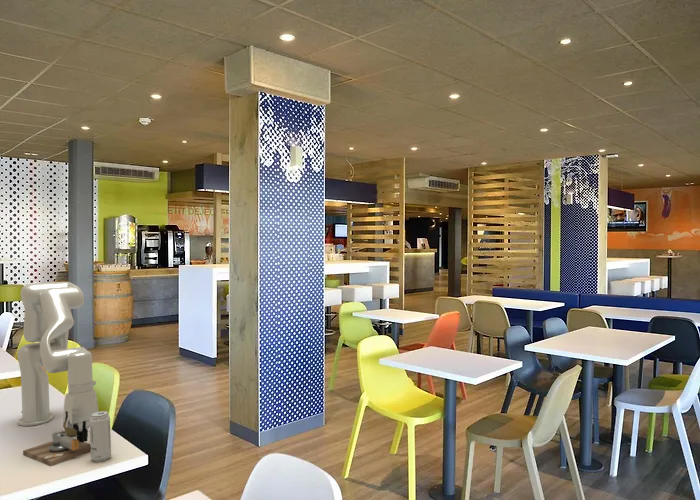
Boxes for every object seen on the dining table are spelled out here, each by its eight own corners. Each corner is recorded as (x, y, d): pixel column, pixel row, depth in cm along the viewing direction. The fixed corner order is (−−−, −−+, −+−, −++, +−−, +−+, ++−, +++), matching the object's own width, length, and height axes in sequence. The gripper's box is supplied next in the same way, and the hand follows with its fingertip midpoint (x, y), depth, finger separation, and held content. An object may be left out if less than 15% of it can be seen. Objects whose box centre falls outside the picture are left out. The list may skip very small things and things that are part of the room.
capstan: (45, 449, 179) (44, 435, 179) (65, 442, 185) (65, 429, 185) (65, 456, 172) (65, 442, 172) (86, 449, 178) (86, 435, 178)
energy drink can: (89, 458, 175) (87, 413, 175) (108, 453, 178) (107, 409, 178) (93, 464, 170) (91, 417, 170) (113, 459, 174) (111, 413, 173)
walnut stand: (23, 454, 179) (23, 449, 179) (67, 440, 192) (67, 435, 192) (51, 466, 170) (50, 460, 170) (95, 449, 182) (95, 444, 182)
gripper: (95, 381, 189) (96, 432, 189) (52, 391, 176) (54, 446, 177) (107, 383, 185) (109, 436, 185) (64, 394, 172) (66, 450, 173)
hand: (82, 441), depth 181 cm, fingers closed
